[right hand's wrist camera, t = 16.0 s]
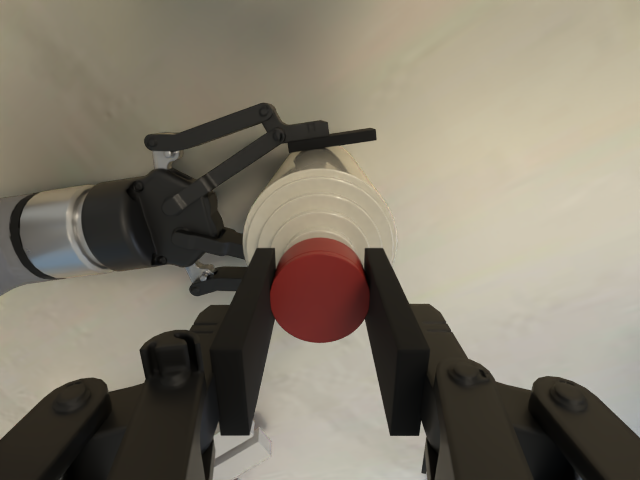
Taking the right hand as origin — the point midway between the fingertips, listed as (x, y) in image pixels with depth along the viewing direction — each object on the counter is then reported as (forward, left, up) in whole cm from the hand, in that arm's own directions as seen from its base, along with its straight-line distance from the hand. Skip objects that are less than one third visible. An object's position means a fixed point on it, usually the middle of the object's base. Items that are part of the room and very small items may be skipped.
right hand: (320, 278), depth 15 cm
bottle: (0, 0, -21) cm, 21 cm away
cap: (0, 0, +2) cm, 2 cm away
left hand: (-2, +4, -15) cm, 15 cm away
